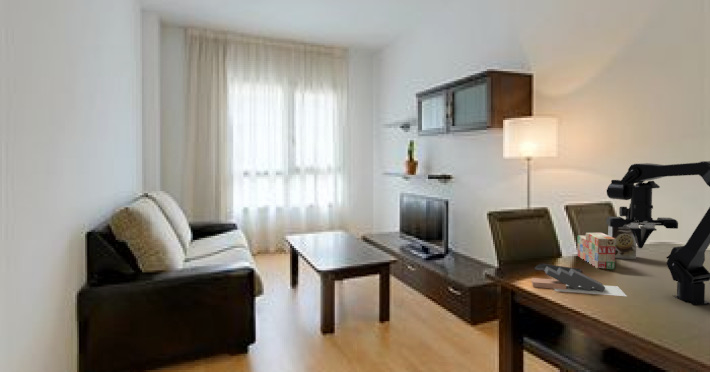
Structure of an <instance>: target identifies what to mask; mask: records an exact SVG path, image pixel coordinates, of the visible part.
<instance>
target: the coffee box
mask: <svg viewBox="0 0 710 372" xmlns="http://www.w3.org/2000/svg"><path fill="white" fill-rule="evenodd" d="M607 226H608V225H607ZM626 226H627V225H624V226H622V227H610V226H608V228H607V229H608V230H607V231H608V232H607V235H609V236H611V237H613V238H615V239H616V243H615V259H625V260H636V258H637V243H636V240H635V238H634V235H633V233H632V231H631V230H630V229H628V228H626Z"/></svg>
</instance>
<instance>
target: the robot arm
mask: <svg viewBox="0 0 710 372" xmlns="http://www.w3.org/2000/svg"><path fill="white" fill-rule="evenodd" d="M681 176H683V177H684V176H699V177H701V178H702V180H703V181H704V183H706V185H707V186H708V187H710V160H708V161H699V162H689V163H688V162H687V163H676V164H675V163H674V164H659V163H651V162H650V163H647V162H646V163H632V164H630V166H629V168H628V169H627V172H626V173H625V174H624V176H623V177H622V179H612V180H611V182H610V184H609V185H608V186H607V189H606V196H607V197H608V198H609V199H611V200H620V201H621V200H622V201H630V203H629V207H627V206H620V207H619V208H618V210H619V211H618V212H619V213H618V214H619V216H608V217H606V220H605V221H606V222H605V224H606V225H607V226H610V227H622V226H624V225H627V226H626V228H628V229H630V230H631V231H632V233H633V235H634V238H635V240H636V247H637V248H639V249H643V247H644V246H645V243H646V242H647V241H648V239H649V237H650V236H651V234H652V233H653V232H655V231H656V232H657V228H656V226H658V227H659V226H661V227H664V228H665V229H676V230H677V229H679V222H678V220H677V219H674V218H672V217H657V219H653V215H652V213H653V209H654V205H653V189H659V188H660V185H659V184H657V183H656V182H655V181H654V180H657V179H661V178H665V177H681ZM646 181H647V182H646ZM623 217H625V218H623ZM709 247H710V206H709V207H708V209H707V210H706V212H705V213H704V215H703V217H702V218H701V219H700V221H699V223H698V225H697V226H696V228H695V229H694V231H692V233H691V235H690V237H689V238H688V240H687V242H686V244H684V245H682V246H674V247H672V249H671V251H670V254H669V255H668V256H666V257H665V258H666V260H667V261H666V266H667V269H668V270H669V272H670V275H671V278H672V281H675V282H677V283H676V295H672V297H673V298H675V299H677V300H679V301H682V302H683V303H686V304H691V305H710V301H707V300H705V298H706V297H705V296H706V294H705V293H706V283H705V282H709V281H710V271H709V270H708V269H707V268H706V267H705V265H704V263H705V261H706V260H705V259H706V257H705V256H706V255H705V253H706V251H707V249H708V248H709Z"/></svg>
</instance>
